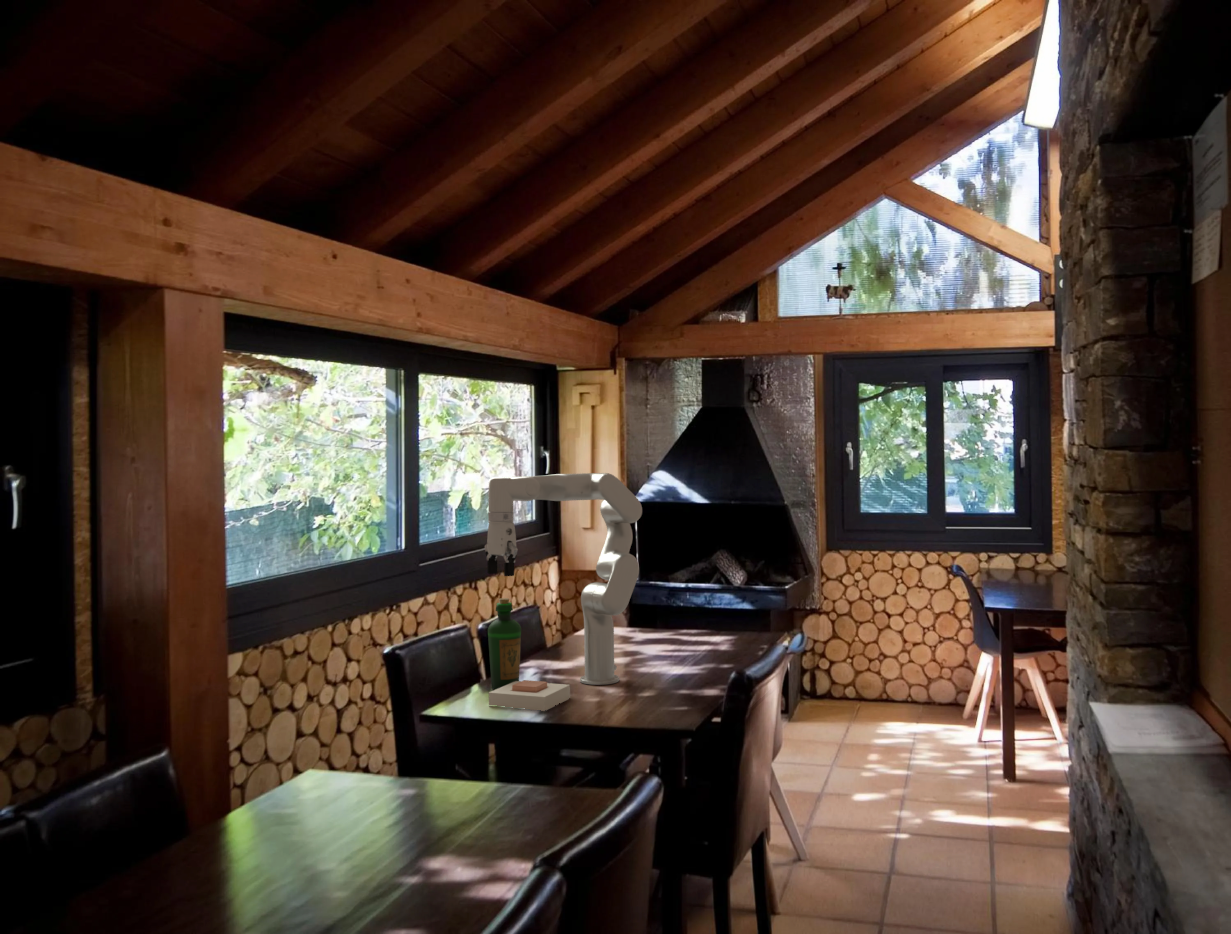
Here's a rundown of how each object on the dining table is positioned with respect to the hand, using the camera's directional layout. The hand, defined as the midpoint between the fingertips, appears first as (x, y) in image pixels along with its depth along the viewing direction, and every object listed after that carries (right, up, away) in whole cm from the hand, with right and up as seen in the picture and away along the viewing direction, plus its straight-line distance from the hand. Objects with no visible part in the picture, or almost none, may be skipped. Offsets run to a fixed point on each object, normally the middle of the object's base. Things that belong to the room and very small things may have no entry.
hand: (500, 574), depth 308 cm
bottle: (0, -37, +11) cm, 39 cm away
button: (+10, -35, -8) cm, 37 cm away
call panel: (+10, -37, -8) cm, 39 cm away
